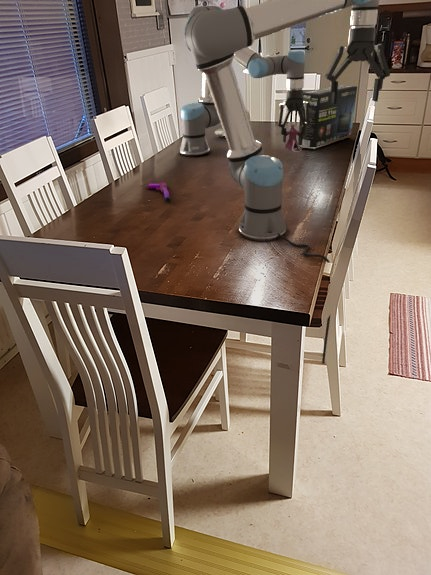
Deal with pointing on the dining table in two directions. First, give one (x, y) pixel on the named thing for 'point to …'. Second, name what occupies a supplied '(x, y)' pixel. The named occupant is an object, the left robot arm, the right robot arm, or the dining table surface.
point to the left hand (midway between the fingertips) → (292, 141)
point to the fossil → (220, 132)
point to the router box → (328, 115)
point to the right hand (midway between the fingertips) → (354, 102)
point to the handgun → (162, 188)
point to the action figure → (292, 139)
